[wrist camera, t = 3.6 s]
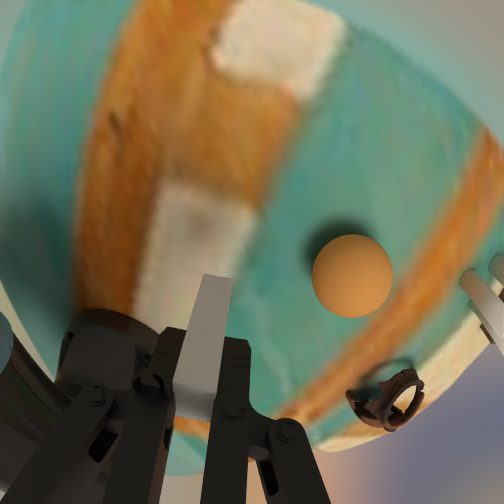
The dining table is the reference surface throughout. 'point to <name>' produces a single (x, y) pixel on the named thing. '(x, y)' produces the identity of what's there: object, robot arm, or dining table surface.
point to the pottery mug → (390, 402)
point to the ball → (352, 276)
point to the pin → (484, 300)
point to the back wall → (503, 297)
